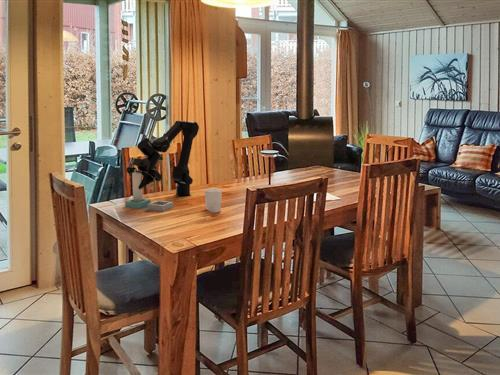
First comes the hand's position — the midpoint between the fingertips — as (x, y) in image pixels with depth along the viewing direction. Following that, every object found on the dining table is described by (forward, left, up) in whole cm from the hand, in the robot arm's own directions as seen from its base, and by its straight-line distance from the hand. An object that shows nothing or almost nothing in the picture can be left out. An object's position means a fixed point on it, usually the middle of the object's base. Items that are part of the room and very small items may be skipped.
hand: (135, 188), depth 245 cm
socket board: (-6, +4, -10) cm, 12 cm away
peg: (-1, -1, -7) cm, 7 cm away
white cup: (-33, +17, -10) cm, 39 cm away
